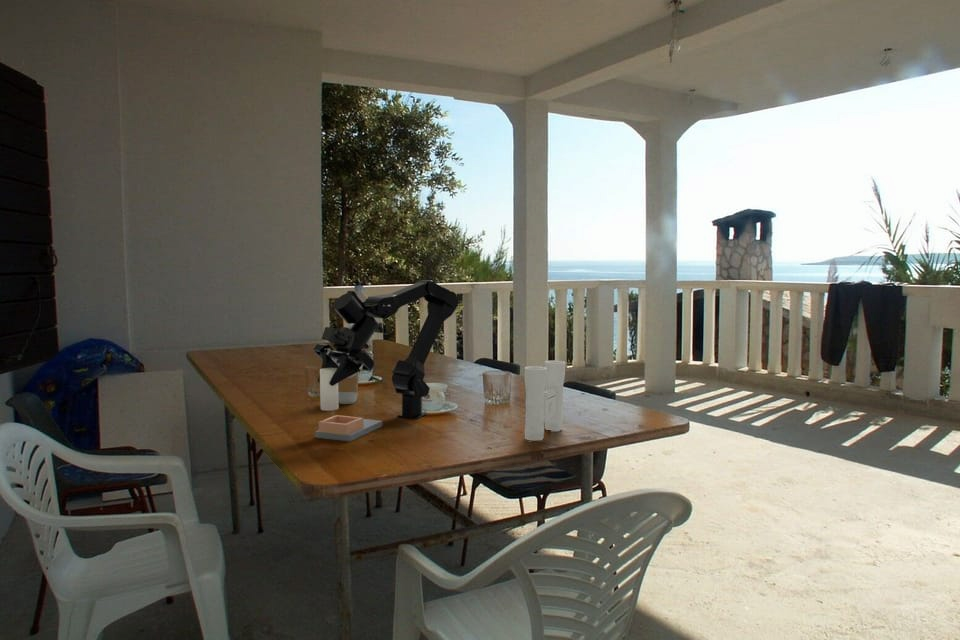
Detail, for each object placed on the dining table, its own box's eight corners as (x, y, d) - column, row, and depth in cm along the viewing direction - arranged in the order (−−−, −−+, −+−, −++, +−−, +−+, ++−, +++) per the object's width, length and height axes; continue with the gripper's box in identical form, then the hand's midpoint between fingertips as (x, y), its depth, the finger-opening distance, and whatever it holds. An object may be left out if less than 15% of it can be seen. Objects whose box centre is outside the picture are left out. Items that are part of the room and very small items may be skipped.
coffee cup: (356, 405, 202) (356, 356, 201) (329, 404, 202) (329, 355, 201) (362, 399, 210) (362, 352, 209) (336, 398, 210) (335, 352, 209)
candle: (324, 406, 169) (323, 367, 168) (340, 406, 168) (340, 367, 167) (318, 410, 164) (317, 370, 163) (335, 410, 164) (334, 371, 163)
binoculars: (539, 443, 161) (540, 370, 160) (519, 440, 164) (520, 368, 163) (567, 428, 176) (568, 361, 175) (548, 425, 179) (549, 359, 177)
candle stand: (349, 422, 180) (349, 408, 179) (382, 426, 176) (382, 411, 176) (315, 437, 165) (315, 421, 164) (350, 441, 161) (350, 425, 161)
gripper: (318, 312, 173) (282, 359, 166) (364, 317, 161) (328, 368, 154) (343, 339, 180) (309, 386, 173) (389, 346, 168) (355, 396, 161)
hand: (324, 383), depth 165 cm, fingers closed on candle, 4 cm apart
